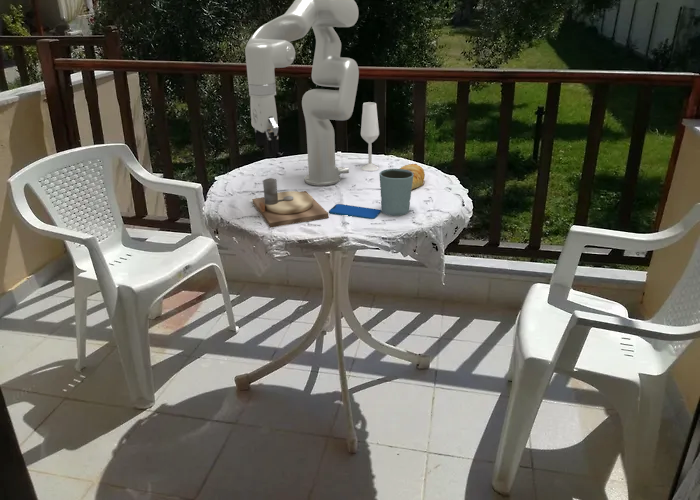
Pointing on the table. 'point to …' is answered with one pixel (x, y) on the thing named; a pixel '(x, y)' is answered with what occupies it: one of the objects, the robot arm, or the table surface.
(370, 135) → the champagne flute
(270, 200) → the dial
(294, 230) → the table surface
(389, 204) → the grey-green cup
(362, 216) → the smartphone
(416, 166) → the croissant
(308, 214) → the board
